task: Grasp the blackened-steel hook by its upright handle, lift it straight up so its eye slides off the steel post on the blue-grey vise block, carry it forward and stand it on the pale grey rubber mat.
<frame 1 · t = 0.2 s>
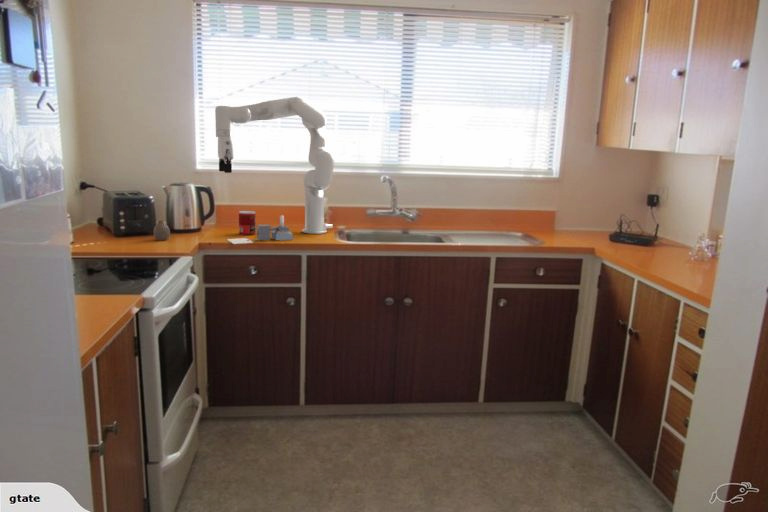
hand: (225, 172, 255), 31 cm above the worktop, fingers open, 9 cm apart
vise post: (282, 238, 262), on the worktop
canned food: (247, 234, 273), on the worktop
mat: (240, 241, 252), on the worktop
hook: (263, 240, 258), on the worktop
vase: (162, 240, 250), on the worktop
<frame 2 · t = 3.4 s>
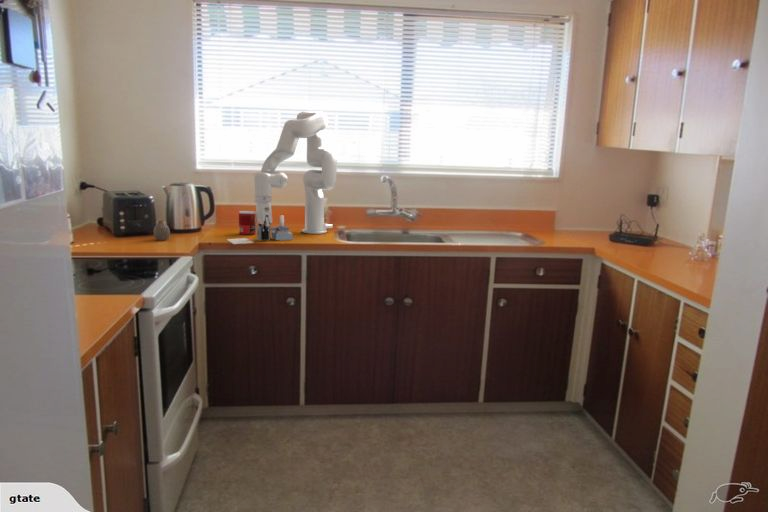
hand: (263, 238, 257), 1 cm above the worktop, fingers closed on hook, 4 cm apart
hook: (263, 240, 258), on the worktop, touching gripper
everything else where it was.
when the fingers open (3 cm above the worktop, at t = 9.0 s): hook drops 1 cm, resting on mat.
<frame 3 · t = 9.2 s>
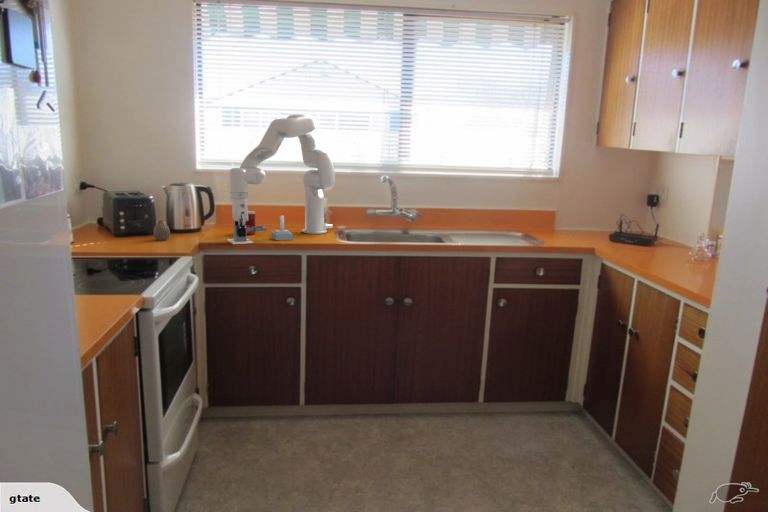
hand: (239, 235, 252), 3 cm above the worktop, fingers open, 6 cm apart
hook: (240, 240, 252), resting on mat
everything else where it was.
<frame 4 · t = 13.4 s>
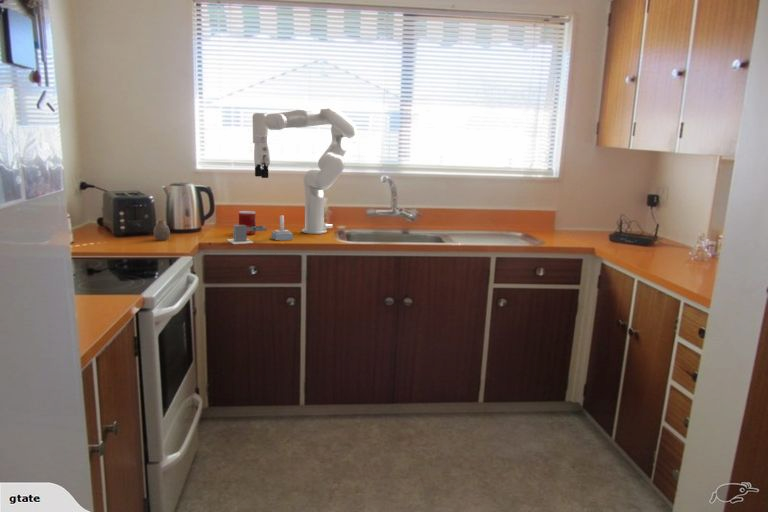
hand: (261, 177, 263), 28 cm above the worktop, fingers open, 9 cm apart
nothing on the worktop moved.
at the end: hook inside the target area on the mat (0.1 cm from its centre), point 0.4 cm above the mat's base; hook touching mat; the gripper is holding nothing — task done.
